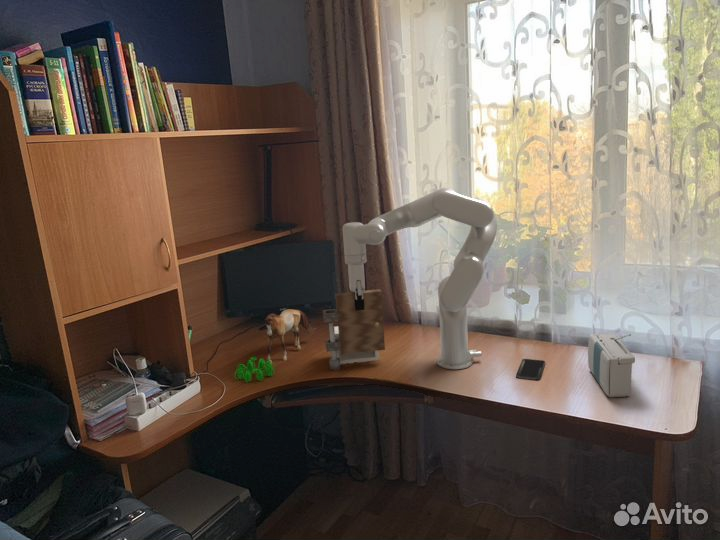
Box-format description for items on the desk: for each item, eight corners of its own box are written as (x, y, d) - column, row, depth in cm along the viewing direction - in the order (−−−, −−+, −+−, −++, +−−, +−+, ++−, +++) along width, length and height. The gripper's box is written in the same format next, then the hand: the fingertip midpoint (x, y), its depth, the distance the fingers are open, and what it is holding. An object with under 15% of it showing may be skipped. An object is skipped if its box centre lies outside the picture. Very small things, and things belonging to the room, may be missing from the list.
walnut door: (383, 345, 212) (379, 288, 206) (385, 350, 207) (381, 292, 201) (326, 351, 210) (321, 294, 205) (327, 357, 205) (321, 298, 200)
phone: (515, 376, 190) (522, 358, 203) (515, 379, 191) (522, 361, 204) (540, 378, 187) (546, 360, 200) (540, 381, 187) (546, 363, 200)
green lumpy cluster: (229, 374, 212) (227, 356, 210) (268, 364, 218) (266, 346, 217) (242, 388, 199) (239, 370, 197) (282, 377, 206) (280, 359, 204)
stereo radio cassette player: (586, 370, 192) (588, 313, 187) (612, 369, 191) (614, 312, 186) (605, 399, 172) (607, 337, 167) (634, 399, 171) (637, 336, 166)
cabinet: (376, 351, 221) (373, 309, 217) (381, 365, 209) (377, 320, 205) (328, 357, 220) (324, 315, 215) (330, 370, 207) (326, 326, 203)
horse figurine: (274, 371, 210) (268, 318, 205) (257, 369, 214) (251, 316, 209) (318, 341, 237) (313, 293, 232) (302, 339, 240) (297, 292, 235)
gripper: (343, 254, 208) (347, 302, 212) (346, 264, 192) (351, 316, 197) (363, 252, 208) (367, 300, 213) (369, 262, 193) (372, 314, 197)
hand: (359, 307), depth 205 cm, fingers closed on walnut door, 3 cm apart
